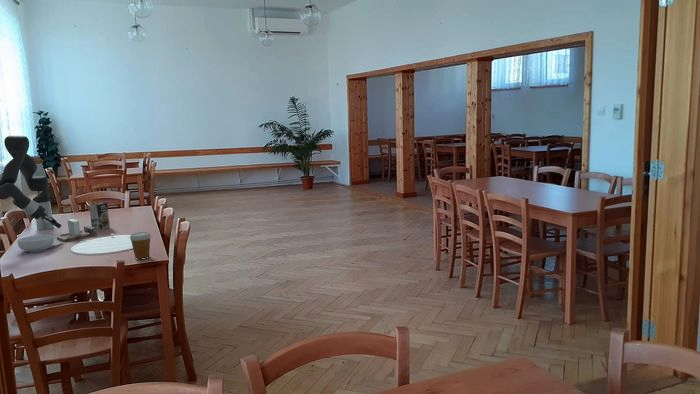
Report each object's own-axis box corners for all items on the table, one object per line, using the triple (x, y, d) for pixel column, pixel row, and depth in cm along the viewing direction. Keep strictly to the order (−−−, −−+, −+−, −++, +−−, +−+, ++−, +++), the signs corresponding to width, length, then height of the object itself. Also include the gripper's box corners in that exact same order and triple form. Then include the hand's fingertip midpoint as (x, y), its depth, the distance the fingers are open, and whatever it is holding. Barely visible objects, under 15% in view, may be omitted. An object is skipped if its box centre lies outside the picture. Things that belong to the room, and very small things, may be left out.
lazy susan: (74, 242, 306) (74, 236, 305) (148, 233, 320) (148, 227, 319) (67, 259, 269) (66, 253, 269) (151, 249, 283) (150, 242, 283)
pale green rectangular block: (75, 236, 310) (73, 221, 309) (69, 234, 316) (67, 219, 315) (80, 235, 313) (78, 220, 311) (74, 233, 319) (72, 219, 317)
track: (64, 242, 305) (63, 234, 305) (57, 239, 313) (56, 231, 312) (96, 235, 318) (96, 228, 318) (89, 233, 326) (88, 225, 325)
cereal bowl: (62, 247, 294) (60, 234, 292) (36, 255, 278) (34, 242, 277) (38, 245, 299) (37, 233, 298) (11, 254, 284) (9, 240, 282)
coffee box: (101, 231, 330) (98, 204, 327) (91, 231, 331) (88, 205, 328) (110, 227, 339) (107, 202, 336) (101, 227, 340) (98, 202, 337)
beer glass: (135, 256, 269) (132, 232, 267) (155, 254, 270) (152, 231, 268) (129, 261, 260) (126, 237, 258) (149, 260, 261) (147, 235, 259)
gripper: (42, 204, 294) (69, 222, 305) (33, 202, 303) (60, 220, 314) (32, 216, 291) (60, 233, 302) (24, 213, 300) (51, 230, 311)
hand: (60, 226), depth 308 cm, fingers closed
